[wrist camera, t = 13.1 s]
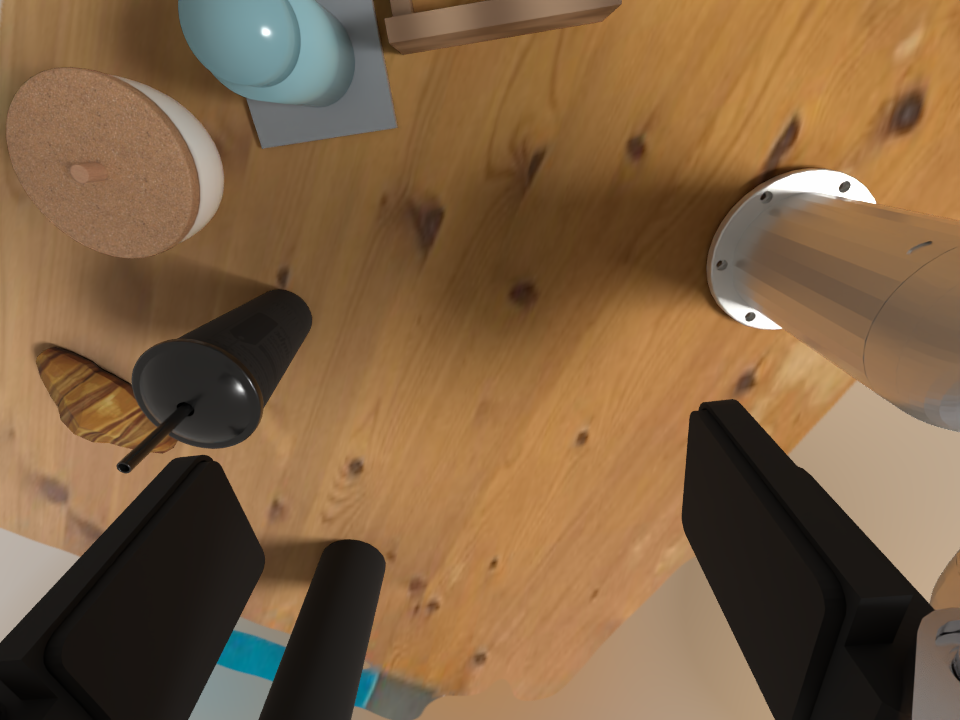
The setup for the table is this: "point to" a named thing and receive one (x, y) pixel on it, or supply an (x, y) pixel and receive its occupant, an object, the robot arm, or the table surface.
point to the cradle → (487, 21)
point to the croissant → (95, 401)
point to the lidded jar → (113, 161)
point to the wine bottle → (329, 637)
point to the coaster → (357, 109)
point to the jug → (271, 48)
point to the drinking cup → (218, 374)
